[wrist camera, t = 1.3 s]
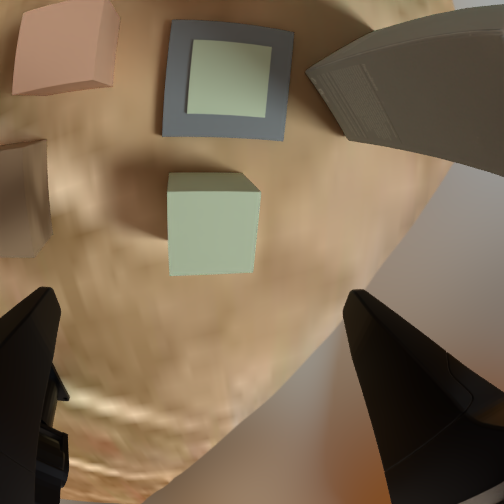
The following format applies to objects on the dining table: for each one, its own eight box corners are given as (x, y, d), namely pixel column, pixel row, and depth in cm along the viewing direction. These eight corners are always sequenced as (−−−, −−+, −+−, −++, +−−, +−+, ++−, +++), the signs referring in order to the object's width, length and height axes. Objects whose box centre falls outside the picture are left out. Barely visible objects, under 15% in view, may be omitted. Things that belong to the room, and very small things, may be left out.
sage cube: (236, 238, 23) (253, 272, 18) (169, 240, 21) (169, 275, 17) (241, 172, 20) (261, 191, 16) (169, 172, 19) (167, 191, 15)
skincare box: (344, 141, 21) (535, 218, 7) (294, 61, 17) (504, 28, 4) (412, 93, 20) (581, 129, 6) (373, 20, 17) (552, 1, 3)
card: (280, 140, 20) (284, 141, 19) (162, 135, 18) (161, 136, 17) (290, 34, 16) (295, 31, 16) (172, 22, 14) (172, 18, 14)
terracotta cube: (113, 86, 15) (93, 79, 11) (46, 95, 14) (11, 95, 10) (121, 18, 13) (105, -7, 9) (53, 29, 12) (23, 12, 8)
